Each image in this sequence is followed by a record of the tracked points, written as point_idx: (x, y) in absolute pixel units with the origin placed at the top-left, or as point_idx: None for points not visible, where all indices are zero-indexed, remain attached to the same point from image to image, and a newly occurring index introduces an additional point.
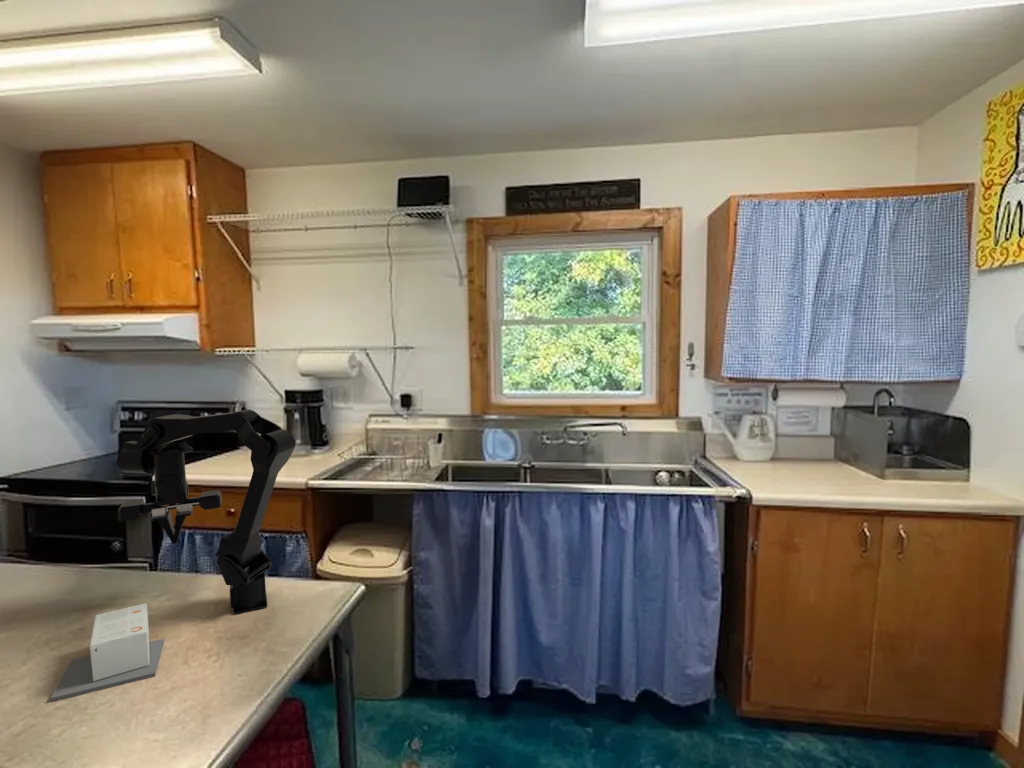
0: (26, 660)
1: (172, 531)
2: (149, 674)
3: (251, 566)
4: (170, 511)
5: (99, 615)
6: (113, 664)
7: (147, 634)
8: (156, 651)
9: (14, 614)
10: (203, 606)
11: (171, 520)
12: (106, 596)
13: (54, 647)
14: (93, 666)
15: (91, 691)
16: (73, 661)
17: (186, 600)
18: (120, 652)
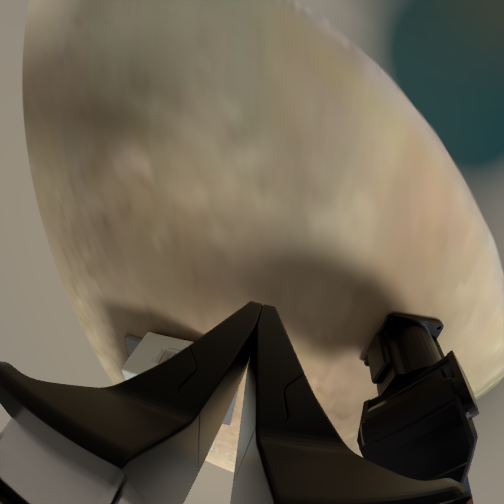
0: (73, 282)
1: (228, 403)
2: (224, 423)
3: (450, 363)
4: (147, 463)
5: (127, 375)
6: None
7: (212, 448)
8: None
9: (26, 87)
10: (331, 288)
11: (201, 424)
12: (127, 64)
13: (89, 268)
14: None
15: None
16: (129, 344)
17: (303, 222)
18: None
